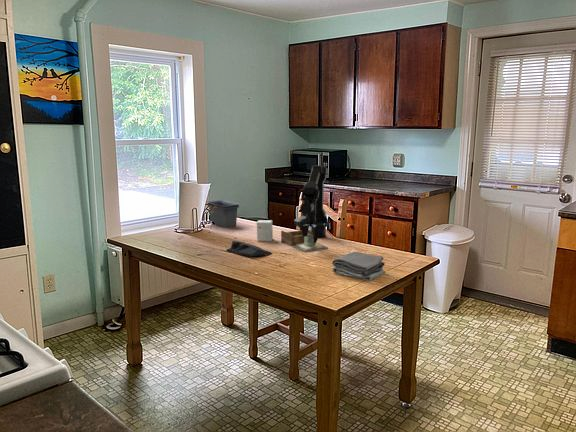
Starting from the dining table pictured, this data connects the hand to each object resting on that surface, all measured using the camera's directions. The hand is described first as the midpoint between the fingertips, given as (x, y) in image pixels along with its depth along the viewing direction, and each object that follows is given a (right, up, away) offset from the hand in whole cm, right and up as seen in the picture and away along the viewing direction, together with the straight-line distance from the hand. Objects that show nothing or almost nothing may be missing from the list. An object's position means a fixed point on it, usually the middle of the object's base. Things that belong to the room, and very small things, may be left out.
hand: (309, 240), depth 235 cm
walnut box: (-6, -2, +11) cm, 13 cm away
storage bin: (-53, +7, +55) cm, 77 cm away
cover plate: (0, -3, +1) cm, 3 cm away
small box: (-24, -1, +17) cm, 29 cm away
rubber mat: (0, -4, +1) cm, 4 cm away
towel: (+19, -12, -40) cm, 46 cm away
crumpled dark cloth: (-30, -6, -7) cm, 32 cm away
